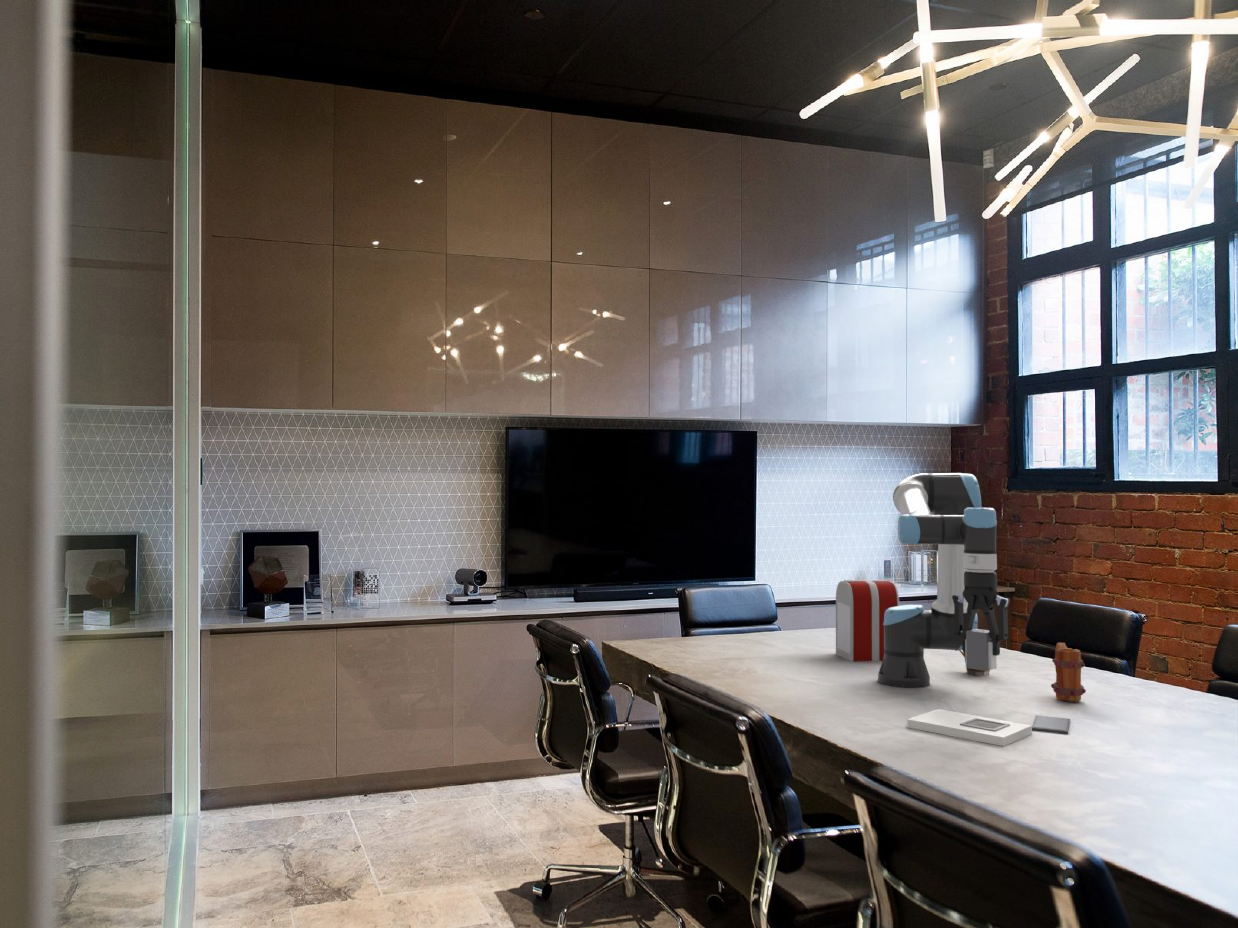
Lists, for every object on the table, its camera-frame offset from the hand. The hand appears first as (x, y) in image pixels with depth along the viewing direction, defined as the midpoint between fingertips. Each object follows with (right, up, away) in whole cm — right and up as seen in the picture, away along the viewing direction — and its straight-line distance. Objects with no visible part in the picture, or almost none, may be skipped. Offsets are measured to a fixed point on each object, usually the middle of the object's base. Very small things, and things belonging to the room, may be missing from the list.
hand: (980, 666), depth 230 cm
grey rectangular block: (0, 0, 0) cm, 0 cm away
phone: (+20, -17, +7) cm, 27 cm away
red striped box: (0, -19, +104) cm, 106 cm away
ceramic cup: (+27, -18, +76) cm, 83 cm away
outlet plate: (-2, -16, +1) cm, 16 cm away
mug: (+39, -17, +38) cm, 57 cm away
